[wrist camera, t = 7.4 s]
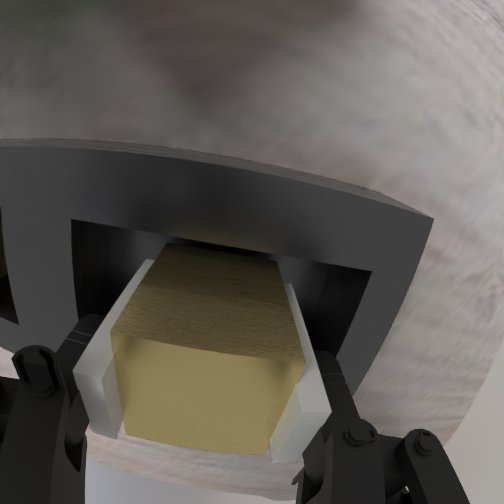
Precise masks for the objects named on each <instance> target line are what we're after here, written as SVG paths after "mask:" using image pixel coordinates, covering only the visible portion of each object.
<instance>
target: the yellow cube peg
mask: <svg viewBox="0 0 504 504" xmlns="http://www.w3.org/2000/svg"><path fill="white" fill-rule="evenodd" d="M7 273H8V270H7V264H6V257H5V249H4V241H3V230H2V217H1V207H0V279H1V278H2V277H4V276H5V275H6V274H7Z"/></svg>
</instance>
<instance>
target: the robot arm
mask: <svg viewBox="0 0 504 504" xmlns="http://www.w3.org/2000/svg"><path fill="white" fill-rule="evenodd" d="M154 261H155V260H150V259H146V260H145V261H144V263H143V264H142V265H141V267H140V268H139V270H138V271H137V272H136V274H135V275H134V277H133V278H132V279H131V281H130V282H129V284H128V285H127V287H126V288H125V289H124V291H123V292H122V294H121V295H120V297H119V298H118V300H117V301H116V303H115V304H114V306H113V307H112V308H111V310H110V311H109V313H108V315H107V316H102V315H98V314H94V313H90V314H88V315H86V316H85V317H83V318H81V319H80V320H79V321H78V322H77V324H76V325H75V326H74V328H73V329H72V331H71V332H70V333H69V334H68V336H67V339H65V340H64V341H63V343H62V344H61V346H60V347H59V348H58V350H57V351H56V353H55V352H53V351H52V350H51V349H50V348H48V347H45V346H42V345H30V346H26V347H23V348H22V349H20V350H19V351H17V352H16V353H15V354H14V356H13V357H12V358H11V359H12V362H13V364H14V367H15V369H16V372H17V374H18V376H19V379H14V378H7V377H1V376H0V504H85V469H86V453H87V438H86V435H85V431H86V429H87V426H88V424H90V426H91V429H92V431H93V432H95V433H98V434H101V435H104V436H107V437H110V438H113V439H117V436H118V432H119V429H120V426H121V423H122V420H123V414H122V409H121V403H120V397H119V392H118V385H117V379H116V372H115V364H114V356H113V354H112V346H111V336H110V330H111V328H112V326H113V325H114V323H115V321H116V320H117V318H118V317H119V315H120V313H121V312H122V310H123V308H124V307H125V305H126V304H127V302H128V300H129V299H130V297H131V296H132V294H133V293H134V291H135V289H136V288H137V286H138V285H139V283H140V282H141V280H142V279H143V277H144V276H145V274H146V273H147V271H148V270H149V268H150V267H151V265H152V264H153V262H154ZM284 287H285V290H286V293H287V297H288V300H289V304H290V307H291V310H292V314H293V317H294V321H295V324H296V328H297V331H298V335H299V338H300V342H301V345H302V349H303V352H304V356H305V359H306V364H305V367H304V369H303V371H302V374H301V376H300V378H299V381H298V383H297V384H296V385H295V387H294V390H293V392H292V394H291V396H290V398H289V401H288V403H287V405H286V407H285V409H284V411H283V414H282V416H281V418H280V420H279V422H278V424H277V426H276V428H275V430H274V432H273V434H272V436H271V438H270V451H271V462H272V463H297V462H298V460H299V459H300V457H301V456H302V455H303V459H304V465H305V466H304V467H303V468H302V470H301V471H300V472H299V473H298V474H297V476H296V477H295V478H294V479H293V482H292V484H291V485H295V484H296V483H297V482H298V481H299V482H298V490H297V497H296V504H470V503H469V500H468V498H467V496H466V494H465V492H464V490H463V487H462V485H461V483H460V481H459V479H458V477H457V475H456V473H455V470H454V469H453V467H452V465H451V462H450V460H449V458H448V456H447V454H446V452H445V451H444V449H443V447H442V445H441V443H440V441H439V440H438V438H437V437H436V436H435V435H434V434H433V433H431V432H430V431H427V430H424V429H414V430H412V431H410V432H409V433H408V434H407V435H406V436H405V437H404V438H397V437H391V436H385V435H381V434H378V433H377V430H376V429H375V428H374V427H373V426H372V424H370V423H369V422H367V421H365V420H364V419H360V417H359V414H358V412H357V409H356V406H355V404H354V401H353V398H352V396H351V393H350V391H349V388H348V385H347V384H346V380H345V377H344V375H342V373H343V372H342V370H341V367H340V365H339V362H338V361H337V360H336V358H335V357H334V356H333V355H332V354H331V353H330V352H329V351H319V350H313V349H312V346H311V343H310V339H309V336H308V333H307V330H306V327H305V324H304V321H303V318H302V314H301V311H300V308H299V305H298V302H297V299H296V296H295V293H294V290H293V287H292V284H289V283H284ZM406 486H407V487H408V490H409V491H407V490H406V488H405V487H406Z"/></svg>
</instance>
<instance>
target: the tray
mask: <svg viewBox="0 0 504 504" xmlns="http://www.w3.org/2000/svg"><path fill="white" fill-rule="evenodd" d="M0 207H1V217H2V230H3V241H4V249H5V257H6V264H7V270H8V273H7V274H6V275H5V276H4V277H2V278H1V279H0V347H2V348H4V349H6V350H8V351H10V352H12V353H14V354H15V353H16V352H17V351H19V350H20V349H22V348H23V347H26V346H30V345H42V346H45V347H48V348H50V349H51V350H52V351H53V352H55V353H56V351H57V350H58V348H59V347H60V346H61V344H62V343H63V341H64V340H65V339H67V336H68V334H69V333H70V332H71V331H72V329H73V328H74V326H75V325H76V324H77V322H78V321H79V320H80V319H81V318H83V317H85V316H86V315H88V314H90V313H94V314H98V315H102V316H107V315H108V313H109V311H110V310H111V308H112V307H113V306H114V304H115V303H116V301H117V300H118V298H119V297H120V295H121V294H122V292H123V291H124V289H125V288H126V287H127V285H128V284H129V282H130V281H131V279H132V278H133V277H134V275H135V274H136V272H137V271H138V270H139V268H140V267H141V265H142V264H143V263H144V261H145V260H146V259H150V260H155V259H156V258H157V256H158V255H159V253H160V252H161V250H162V249H163V247H164V246H165V245H166V243H173V244H179V245H185V246H191V247H196V248H202V249H208V250H214V251H220V252H225V253H231V254H237V255H243V256H249V257H255V258H261V259H266V260H272V261H277V263H278V267H279V270H280V273H281V277H282V280H283V283H289V284H292V287H293V290H294V293H295V296H296V299H297V302H298V305H299V308H300V311H301V314H302V318H303V321H304V324H305V327H306V330H307V333H308V336H309V339H310V343H311V346H312V349H313V350H319V351H329V352H330V353H331V354H332V355H333V356H334V357H335V358H336V360H337V361H338V362H339V365H340V367H341V370H342V372H343V373H342V375H344V377H345V380H346V384H347V385H348V388H349V391H350V393H351V396H353V395H354V393H355V391H356V390H357V388H358V386H359V385H360V383H361V381H362V380H363V378H364V376H365V375H366V373H367V371H368V369H369V368H370V366H371V364H372V362H373V361H374V359H375V357H376V355H377V353H378V351H379V349H380V348H381V346H382V344H383V342H384V340H385V338H386V336H387V334H388V332H389V330H390V328H391V326H392V324H393V322H394V320H395V318H396V316H397V313H398V311H399V309H400V307H401V305H402V302H403V300H404V298H405V296H406V293H407V291H408V289H409V286H410V284H411V281H412V279H413V277H414V274H415V272H416V269H417V266H418V264H419V261H420V259H421V256H422V253H423V250H424V248H425V245H426V242H427V239H428V236H429V233H430V230H431V227H432V224H433V221H434V219H433V218H431V217H429V216H428V215H426V214H424V213H422V212H420V211H418V210H416V209H413V208H411V207H409V206H407V205H405V204H403V203H401V202H399V201H397V200H395V199H392V198H390V197H388V196H386V195H384V194H381V193H379V192H376V191H372V190H369V189H366V188H362V187H359V186H355V185H352V184H348V183H344V182H341V181H337V180H333V179H329V178H325V177H321V176H317V175H313V174H309V173H305V172H301V171H297V170H292V169H288V168H283V167H279V166H274V165H269V164H264V163H260V162H254V161H249V160H244V159H239V158H233V157H228V156H222V155H216V154H210V153H203V152H197V151H190V150H183V149H176V148H168V147H160V146H151V145H142V144H132V143H121V142H108V141H93V140H74V139H0Z"/></svg>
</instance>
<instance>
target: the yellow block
mask: <svg viewBox="0 0 504 504" xmlns="http://www.w3.org/2000/svg"><path fill="white" fill-rule="evenodd" d="M110 336H111V346H112V354H113V356H114V364H115V372H116V379H117V385H118V392H119V397H120V403H121V409H122V414H123V421H124V425H125V430H126V434H127V435H130V436H134V437H138V438H142V439H146V440H151V441H155V442H160V443H165V444H170V445H175V446H181V447H187V448H193V449H200V450H208V451H216V452H226V453H237V454H252V455H263V454H264V452H265V450H266V448H267V446H268V445H269V443H270V438H271V436H272V434H273V432H274V430H275V428H276V426H277V424H278V422H279V420H280V418H281V416H282V414H283V411H284V409H285V407H286V405H287V403H288V401H289V398H290V396H291V394H292V392H293V390H294V387H295V385H296V384H297V383H298V381H299V378H300V376H301V374H302V371H303V369H304V367H305V364H306V359H305V356H304V352H303V349H302V345H301V342H300V338H299V335H298V331H297V328H296V324H295V321H294V317H293V314H292V310H291V307H290V304H289V300H288V297H287V293H286V290H285V287H284V283H283V280H282V277H281V273H280V270H279V267H278V263H277V261H272V260H266V259H261V258H255V257H249V256H243V255H237V254H231V253H225V252H220V251H214V250H208V249H202V248H196V247H191V246H185V245H179V244H173V243H166V245H165V246H164V247H163V249H162V250H161V252H160V253H159V255H158V256H157V258H156V259H155V261H154V262H153V264H152V265H151V267H150V268H149V270H148V271H147V273H146V274H145V276H144V277H143V279H142V280H141V282H140V283H139V285H138V286H137V288H136V289H135V291H134V293H133V294H132V296H131V297H130V299H129V300H128V302H127V304H126V305H125V307H124V308H123V310H122V312H121V313H120V315H119V317H118V318H117V320H116V321H115V323H114V325H113V326H112V328H111V330H110Z"/></svg>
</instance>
